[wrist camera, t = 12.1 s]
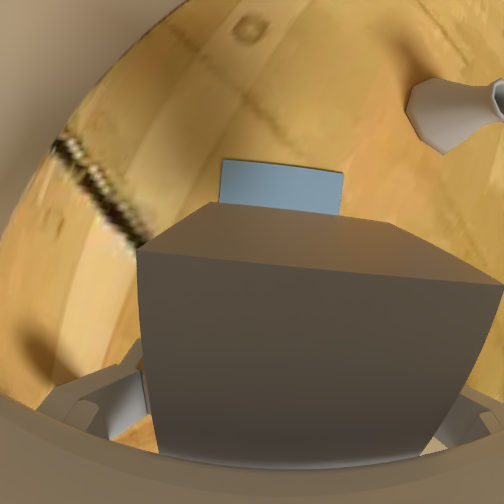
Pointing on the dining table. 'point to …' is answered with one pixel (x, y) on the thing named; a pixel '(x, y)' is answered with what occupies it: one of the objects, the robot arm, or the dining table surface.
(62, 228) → the dining table surface
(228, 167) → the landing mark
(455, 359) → the plain grey carton
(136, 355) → the robot arm
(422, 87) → the flask
